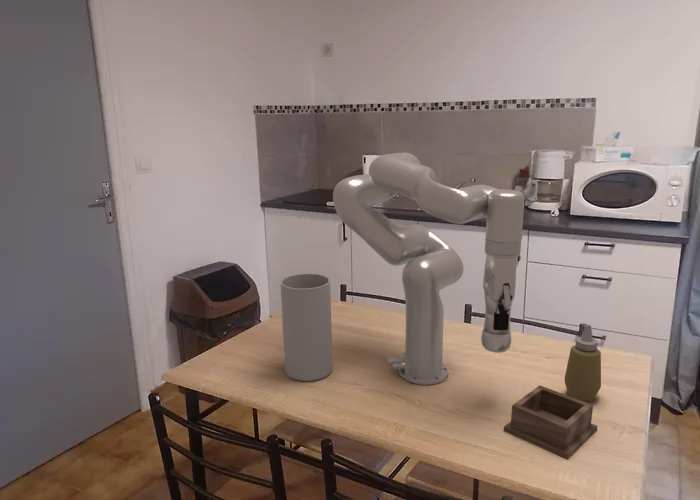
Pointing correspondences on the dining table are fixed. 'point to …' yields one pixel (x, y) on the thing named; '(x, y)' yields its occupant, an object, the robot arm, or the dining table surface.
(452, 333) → the dining table surface
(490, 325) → the plastic bottle
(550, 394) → the bottle caddy
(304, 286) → the cylinder vase
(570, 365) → the squeeze bottle
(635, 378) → the dining table surface
